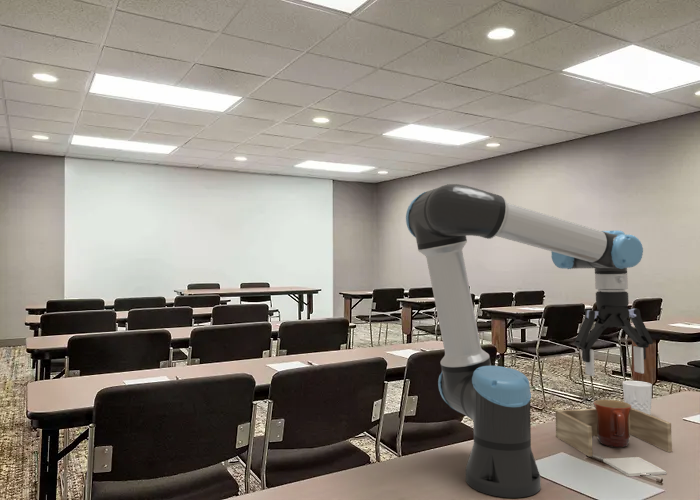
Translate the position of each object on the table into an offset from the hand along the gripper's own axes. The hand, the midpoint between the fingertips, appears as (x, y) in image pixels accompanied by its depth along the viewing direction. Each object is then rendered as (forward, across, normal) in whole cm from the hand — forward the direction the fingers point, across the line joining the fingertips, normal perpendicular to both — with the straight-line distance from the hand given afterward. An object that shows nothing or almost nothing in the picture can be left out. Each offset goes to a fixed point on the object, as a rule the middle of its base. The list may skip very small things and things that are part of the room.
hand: (614, 373), depth 133 cm
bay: (+18, -1, +1) cm, 18 cm away
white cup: (+19, +23, +24) cm, 38 cm away
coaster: (+18, -6, -14) cm, 24 cm away
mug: (+18, -1, 0) cm, 18 cm away
